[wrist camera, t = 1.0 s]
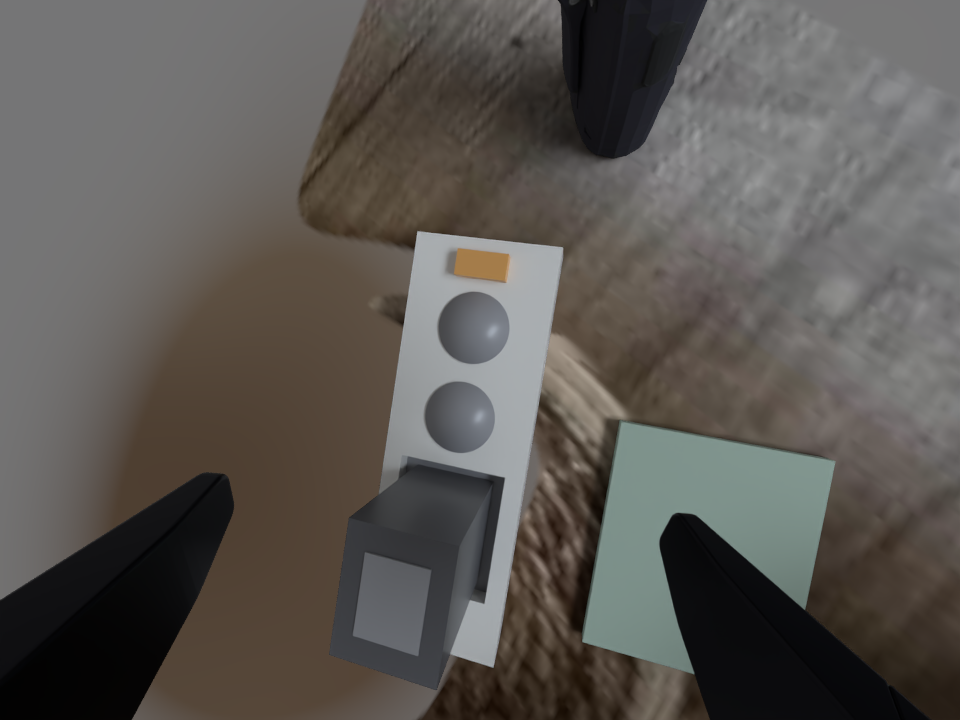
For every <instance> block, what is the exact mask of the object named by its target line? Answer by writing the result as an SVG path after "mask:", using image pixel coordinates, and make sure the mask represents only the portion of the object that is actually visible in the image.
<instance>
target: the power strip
mask: <svg viewBox="0 0 960 720" xmlns="http://www.w3.org/2000/svg"><path fill="white" fill-rule="evenodd" d="M562 261H563V247H554V246H545V245H536V244H527V243H518V242H509V241H500V240H491V239H482V238H472V237H463V236H454V235H445V234H436V233H427V232H417V239H416V245H415V252H414V259H413V266H412V272H411V279H410V286H409V293H408V299H407V306H406V313H405V320H404V326H403V333H402V340H401V347H400V353H399V361H398V367H397V374H396V380H395V387H394V394H393V400H392V407H391V415H390V421H389V428H388V434H387V441H386V448H385V455H384V461H383V468H382V475H381V481H380V489H379V494H380V493H382V492H383V491H384V490H385V489H387V488H388V487H389V486H391V485H392V484H393V483H394V482H396V481H397V480H398V479H400V478H401V477H402V476H403V475H405V474H406V473H407V472H409V471H410V470H411V469H412V468H414V467H415V466H416V465H418V464H419V465H424V466H428V467H432V468H437V469H441V470H446V471H450V472H455V473H459V474H464V475H468V476H473V477H477V478H482V479H486V480H490V481H494V484H493V490H492V496H491V503H490V509H489V515H488V521H487V527H486V533H485V539H484V546H483V552H482V558H481V564H480V570H479V576H478V580H477V583H476V586H475V588H474V591H473V594H472V596H471V599H470V602H469V604H468V607H467V610H466V612H465V615H464V618H463V620H462V623H461V626H460V628H459V631H458V634H457V637H456V639H455V642H454V645H453V647H452V650H451V653H450V654H452V655H454V656H458V657H461V658H464V659H467V660H470V661H474V662H477V663H480V664H483V665H486V666H490V667H494V662H495V658H496V653H497V649H498V644H499V639H500V634H501V628H502V621H503V615H504V609H505V603H506V597H507V591H508V585H509V579H510V573H511V567H512V561H513V555H514V549H515V543H516V537H517V531H518V525H519V519H520V513H521V507H522V501H523V495H524V489H525V483H526V477H527V471H528V465H529V459H530V453H531V447H532V441H533V435H534V429H535V423H536V417H537V411H538V405H539V399H540V393H541V387H542V381H543V375H544V369H545V363H546V357H547V351H548V345H549V339H550V333H551V327H552V321H553V315H554V309H555V303H556V297H557V291H558V285H559V279H560V273H561V267H562Z"/></svg>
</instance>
